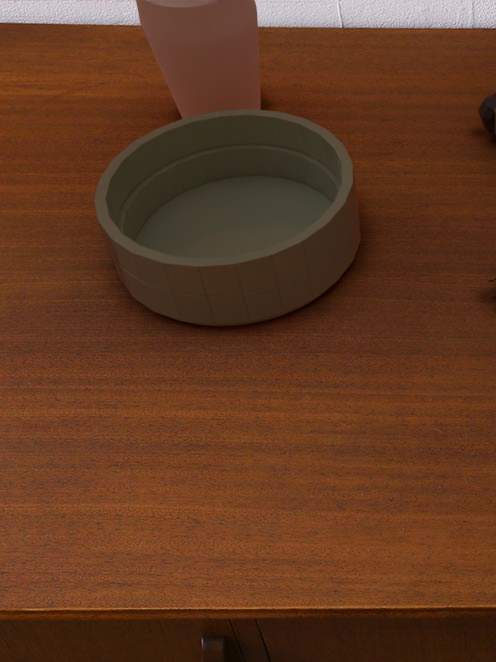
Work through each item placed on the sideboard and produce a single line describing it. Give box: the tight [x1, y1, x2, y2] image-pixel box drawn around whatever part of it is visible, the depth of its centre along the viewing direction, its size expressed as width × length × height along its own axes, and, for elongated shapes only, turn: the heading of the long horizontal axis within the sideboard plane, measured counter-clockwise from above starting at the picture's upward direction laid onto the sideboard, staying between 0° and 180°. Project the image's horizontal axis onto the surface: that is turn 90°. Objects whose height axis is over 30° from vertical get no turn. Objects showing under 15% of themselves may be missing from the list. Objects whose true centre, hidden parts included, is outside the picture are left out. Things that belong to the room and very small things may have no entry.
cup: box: [135, 0, 262, 119], centre depth 82 cm, size 9×9×12 cm
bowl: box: [93, 109, 362, 327], centre depth 72 cm, size 18×18×6 cm
